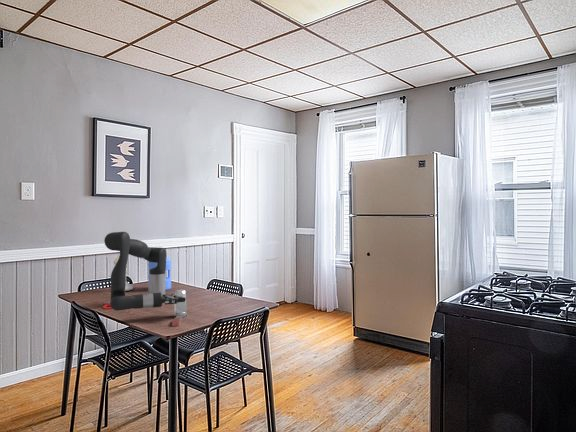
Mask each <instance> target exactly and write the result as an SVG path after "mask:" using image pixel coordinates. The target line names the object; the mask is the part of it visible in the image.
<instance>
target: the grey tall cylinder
mask: <svg viewBox="0 0 576 432" xmlns="http://www.w3.org/2000/svg"><path fill="white" fill-rule="evenodd" d="M174 294H175V298H185V302H178V303H177V304H173V305H174V306H173V308H174V311H175V313H182V312H187V311H188V309H187V307H188V304H187V303H188V301H187V291H186V290H185V289H176V290H174ZM174 301H175V300H174ZM174 311H173V312H174Z"/></svg>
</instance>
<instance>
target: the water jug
mask: <svg viewBox="0 0 576 432" xmlns="http://www.w3.org/2000/svg"><path fill="white" fill-rule="evenodd" d="M147 262H148V263H147V268H148V269H147V271H148V272H147V273H148V274H147V276H148V277H147V278H148V280H147V281H148V286H150V274H149V271H150V269H152V268H155V267H156V266H157V264H158V263H155V262H149V261H147ZM171 269H172V259H171V258H169V257H167V256H166V270H165V272H166V271H167V276H165V291H169V290H171V289H172V278H171ZM148 286H147V287H148Z"/></svg>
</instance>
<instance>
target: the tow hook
mask: <svg viewBox="0 0 576 432" xmlns="http://www.w3.org/2000/svg"><path fill="white" fill-rule="evenodd" d="M102 309H104V310H113V309H112V308H111V306H110V303H106V305H103V306H102Z"/></svg>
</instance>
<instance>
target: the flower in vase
mask: <svg viewBox="0 0 576 432" xmlns="http://www.w3.org/2000/svg"><path fill="white" fill-rule="evenodd" d="M119 256H120V255H118V256H117V257H116V258H115V259H114V260H113V265H114V266H115V265H116V263H117V261H118V259H119ZM127 268H128V267H127V266H126V275H127V274H128V272H129V270H128V269H127ZM133 289H134V286H133V285H132V284H130V283H129V282H128V281H127V280H126V285H125V292H127V291H131V290H133Z"/></svg>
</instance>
